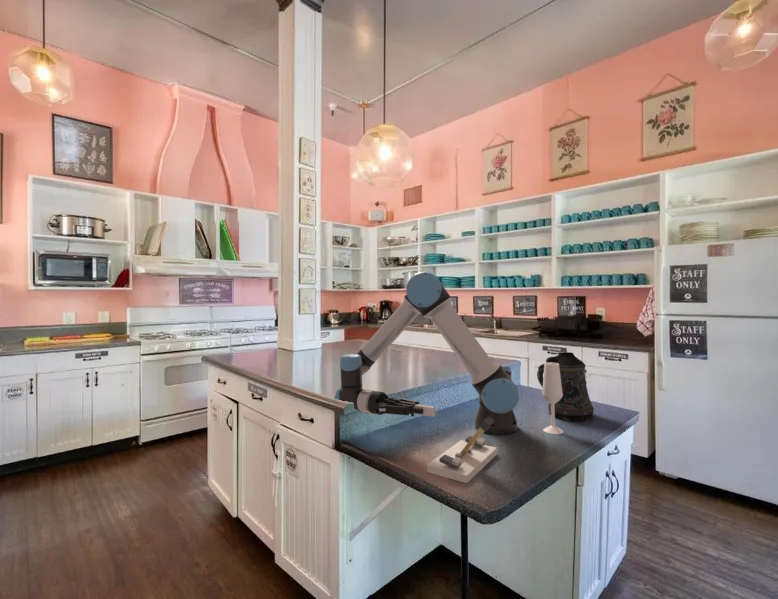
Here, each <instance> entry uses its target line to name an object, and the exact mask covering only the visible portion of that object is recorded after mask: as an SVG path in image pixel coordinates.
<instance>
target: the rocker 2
mask: <svg viewBox="0 0 778 599" xmlns="http://www.w3.org/2000/svg"><path fill="white" fill-rule="evenodd" d="M472 437H473V436H471V435H469V436H468V437H466V438H465V440H464V441H465V442H467V443H468V442H469V441H470V439H471V438H472ZM484 445H486V438H483V437H480V438H479V439H478V440H477V441H476V443H475V444H474V446H477V447H479V448H482V447H483V446H484Z"/></svg>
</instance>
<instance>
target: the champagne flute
mask: <svg viewBox="0 0 778 599" xmlns="http://www.w3.org/2000/svg"><path fill="white" fill-rule="evenodd" d="M543 364H544V373H543V387H542V389H541V390H542V392H541V393H542V396H543V398H544V400H546V401H547V403H548V404H549V403H551V415H550V418H551V419H550V421H551V422H550V423H551V424H550V425H549V426H546V427H544V428H543V432H545V433H547V434H549V435H550V434H551V435H561V434H563V433H564V430H563V429H561V428H559V427H558V426H556V420H555V419H556V418H555V409H554V404H555V403H557V402H558V401H559V400H560V399H561V398H562V396H563V393H562V385H561V377H560V369H559V364H558V363H552V362H548V363H546V362H544V363H543Z"/></svg>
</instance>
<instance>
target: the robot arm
mask: <svg viewBox="0 0 778 599" xmlns="http://www.w3.org/2000/svg"><path fill="white" fill-rule="evenodd" d="M405 288H406V289H405V292H406V294H405V295H404V296H403V301H402V303H401V304H400V305H399V306H398V307H397V308H396V309H395V311H394V312H393V313H392V314H391V315H390V316H389V317H388V318H387V319H386V320H385V322H384V323H383V324H382V325H381V326H380V327H379V328H378V329H377V331H376V332H374V334H373V335H372V336H371V338H369V339H368V340H367V342H366V343H365V344H364V345H363V347H361V348H360V350H358V352H357V353H349V354H344V355H341V356H340V359H339V361H340V362H339V368H340V387H339V388H338V389H336V392H335V395H334V400H335V399H338V400H342V401H348V402H353V403H354V409H355V410H354V411H356V412H362V413H363V412H364V413H365V414H367V415H368V414H373V415H379V416H382V415H384V414H387V415H399V416H409V415H410V417H414V416H415V415H418V416H419V415H420V416H425V417H433V418H434V417H435V416H436V407H435V406H432V405H426V404H425V405H424V404H420V401H417V400H416V401H415V400H412V399H408V398H404V397H403V396H398V398H394V397H391V396H389V397H388V395H387V394H386V392H384V391H376V390H372V389H371V390H370V389H363V375H365V374H366V373H367V372H369V371H370V369H371V368H372V366H373V365H374V364H375V363H376V362H377V361H378V359H380V357H381V356H382V355H383V354H384V353H385V352H386V351H387V350H388V348H390V347H391V345H393V343H394V342H395V341H396V340H397V339H398V338H399V336H400V335H401V334H402V333H403V332H404V331H405V330H406V329H407V327H409V325H410V324H412V322H413V321H414V320H415V319H416V318H417V317H418V316H419V315H421V316H422V317H423V318H425V319H429V320H431V322H432V323H433V325H434V326H435V327H436V329H437V330H438V332H439V333H440V334H441V336H442V337H443V338H444V341H445V342H446V343H447V344H448V345H449V347H450V348H451V350H452V352H453V353H454V354H455V355H456V357H457V358H458V360H459V361H460V363H462V365H463V367H464V368H465V369H466V371H467V373H469V375H470V376H471V378H470V379H471V381H470V383H471V385H472V387H473V388H474V389H475V391H476V393H477V394H478V401H479V402H478V409H477V412H476V415H475V418H474V427H475V429H477V430H478V429H479V428H480V427H479V425H480V424H481V422H482V421H483V420H484V419H485V418H487V417H488V416H490V417H491V418H492V419H494V420H495V421H494V423H493V424H492V425H491V426H490V427H489V428H488V429H487V430H485V431H484V433H485V434H492V435H493V434H494V435H508V434H513V433H515V432H517V430H518V421H517V418H516V415H515V412H514V409H515V407H516V406H517V405H518V403H519V399H520V398H519V397H520V394H519V392H520V391H519V389H518V386H517V385H516V383H515V382H514V381H513V379H512V369H511V368H512V367H511V366H509V365H505V364H502V365H501V363H498V362H494V361H493V360H492V359H491V358H490V356H489V355H488V353H487V352H486V350H484V348H483V346H482V345H481V344H480V343H479V341H478V340H477V338H476V337H475V336H474V335H473V332H472V331H471V330H470V329H469V327H468V326H467V325H466V323H465V321H464V320H463V319H462V318H461V316H460V315H459V314H458V312H457V310H456V309H455V308H454V307H453V305H452V296H451V295H450V293H449V292H448V291H447V290H446V288H445V287H444V285H443V284H442V283H441V281H440V278H438V277H437V276H436V275H435V274H434V273H433V272H429V271H420V272H417V273H415V274H414V275H412V276H411V277H410V278H409V279H408V281H407V283H406V287H405Z"/></svg>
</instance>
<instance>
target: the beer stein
mask: <svg viewBox="0 0 778 599" xmlns="http://www.w3.org/2000/svg"><path fill="white" fill-rule="evenodd" d="M548 362H552V363H558V364H559V369H560V377H561V385H562V393H563V396H562V398H561V399H560V400H559V401H558V402H557V403H555V404H554V409H555V419H558V420H560V421H566V422H571V423H572V422H573V423H579V422H581V423H582V422H583V423H584V422H588V421H591V420H593V416H594V411H595V410H594V407H593V404H592V403H591V402H592V401H591V399H590V396H589V392H588V386H587V381H586V375H585V370H586V364H585V363H584V361H582V360H581V359H579V358H578V357H576V356H575V354H574V352H568V351H565V352H564V351H561V352H559V353H558V354H557V355H555V356H550V357H547V358H546V360H545V363H548ZM545 363H543V364H540V365H539V366H538V367H537V373H536V376H537V377H536V378H537V381H538V382H539V385H540V387H541V388H543V377H544V364H545ZM547 408H548V411H549V415H550V416H551V403H549V402H548V406H547Z"/></svg>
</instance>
